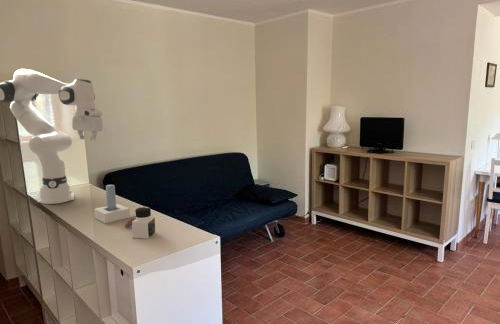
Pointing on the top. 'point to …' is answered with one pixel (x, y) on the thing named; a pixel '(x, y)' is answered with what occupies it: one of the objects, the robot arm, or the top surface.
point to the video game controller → (130, 222)
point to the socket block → (111, 213)
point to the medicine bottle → (143, 223)
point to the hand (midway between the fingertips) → (87, 139)
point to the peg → (110, 197)
